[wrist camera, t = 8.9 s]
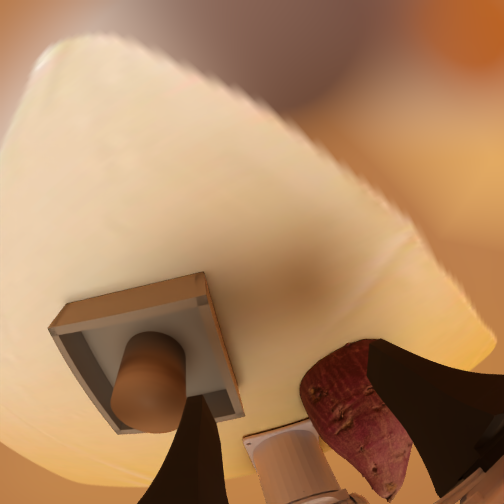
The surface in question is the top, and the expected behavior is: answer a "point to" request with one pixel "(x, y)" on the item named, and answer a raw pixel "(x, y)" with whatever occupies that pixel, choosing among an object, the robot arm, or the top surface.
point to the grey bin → (141, 320)
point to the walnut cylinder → (151, 383)
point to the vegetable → (357, 418)
